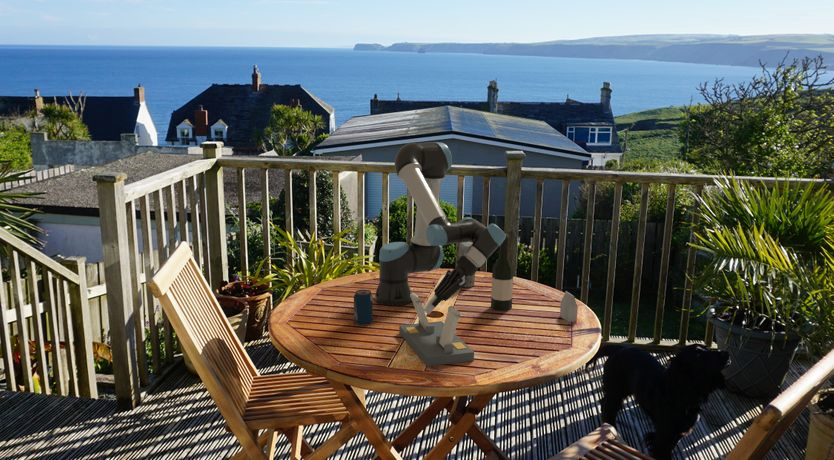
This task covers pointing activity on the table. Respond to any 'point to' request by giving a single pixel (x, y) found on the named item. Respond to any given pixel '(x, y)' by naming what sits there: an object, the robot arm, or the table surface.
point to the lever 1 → (419, 310)
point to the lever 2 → (449, 326)
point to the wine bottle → (502, 280)
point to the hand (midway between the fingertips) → (425, 311)
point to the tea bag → (568, 308)
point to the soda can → (363, 307)
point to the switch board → (435, 344)
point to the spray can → (462, 249)
